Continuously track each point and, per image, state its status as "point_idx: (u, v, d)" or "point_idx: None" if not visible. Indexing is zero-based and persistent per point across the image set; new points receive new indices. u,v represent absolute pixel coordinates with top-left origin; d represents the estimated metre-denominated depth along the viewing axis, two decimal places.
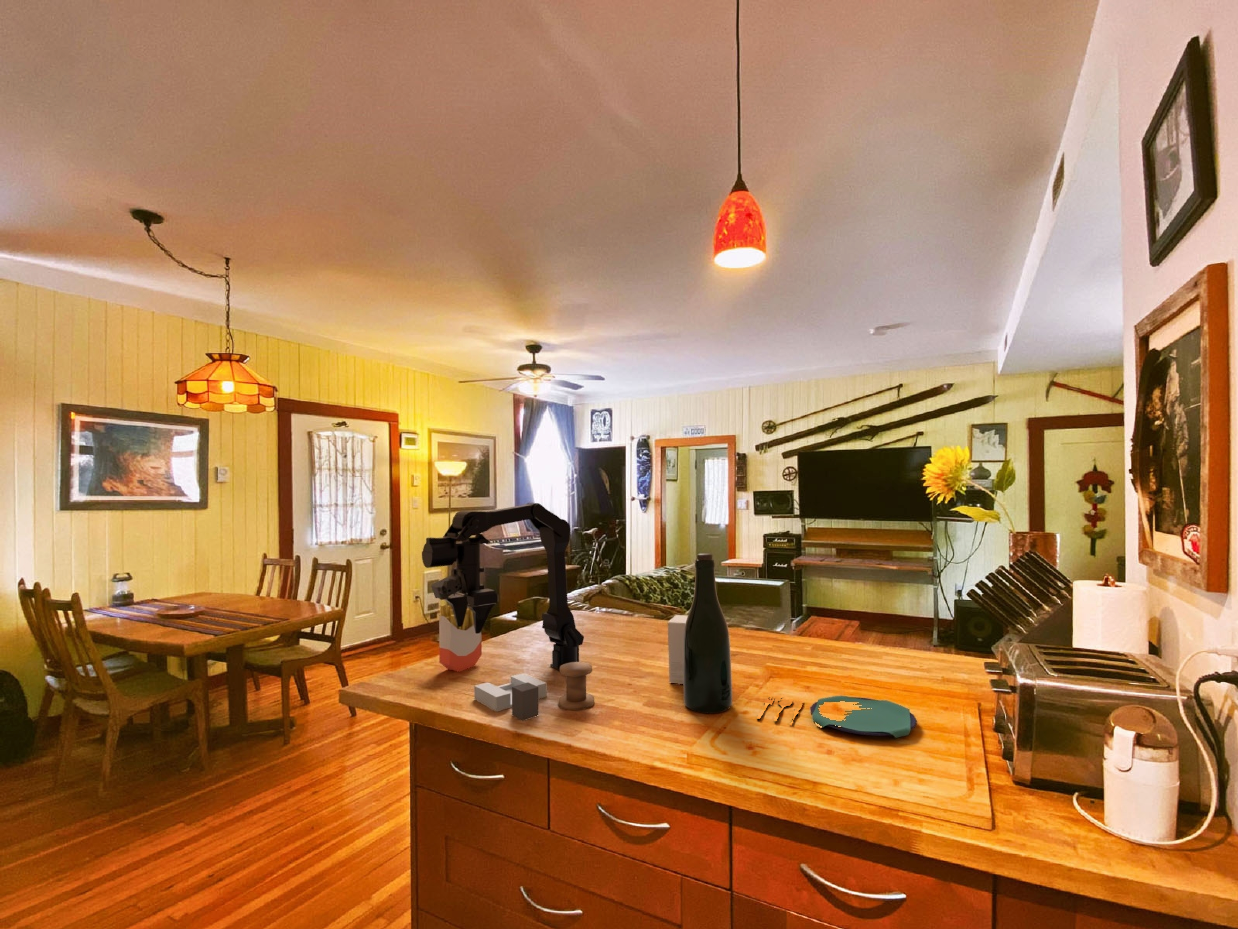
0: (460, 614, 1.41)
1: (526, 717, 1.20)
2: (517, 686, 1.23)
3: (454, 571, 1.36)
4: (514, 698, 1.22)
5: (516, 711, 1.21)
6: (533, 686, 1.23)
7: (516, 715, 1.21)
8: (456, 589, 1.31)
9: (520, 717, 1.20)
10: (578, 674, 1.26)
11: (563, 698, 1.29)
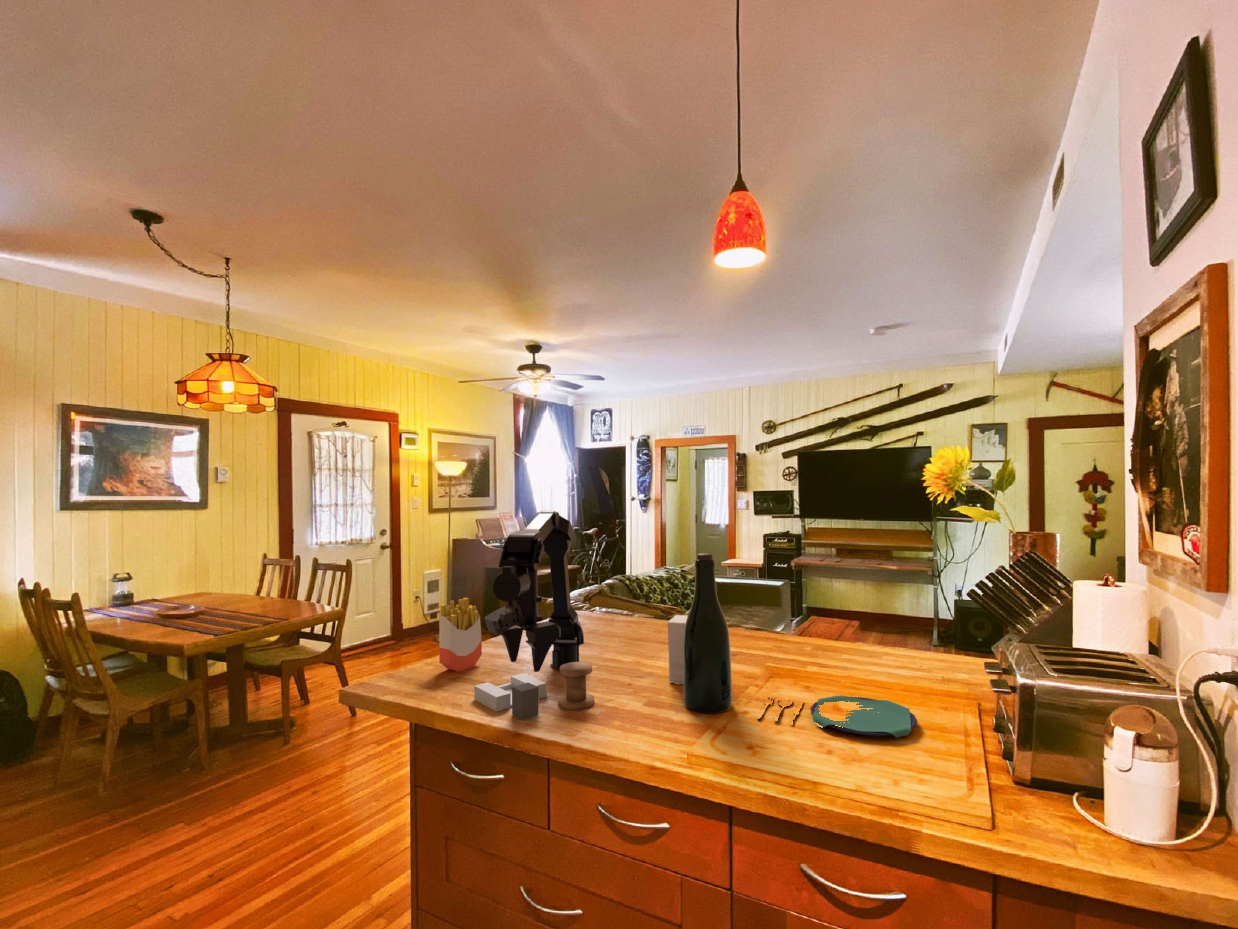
0: (514, 648, 1.26)
1: (526, 717, 1.20)
2: (517, 686, 1.23)
3: (509, 601, 1.22)
4: (514, 698, 1.22)
5: (516, 711, 1.21)
6: (533, 686, 1.23)
7: (516, 715, 1.21)
8: (514, 623, 1.17)
9: (520, 717, 1.20)
10: (578, 674, 1.26)
11: (563, 698, 1.29)
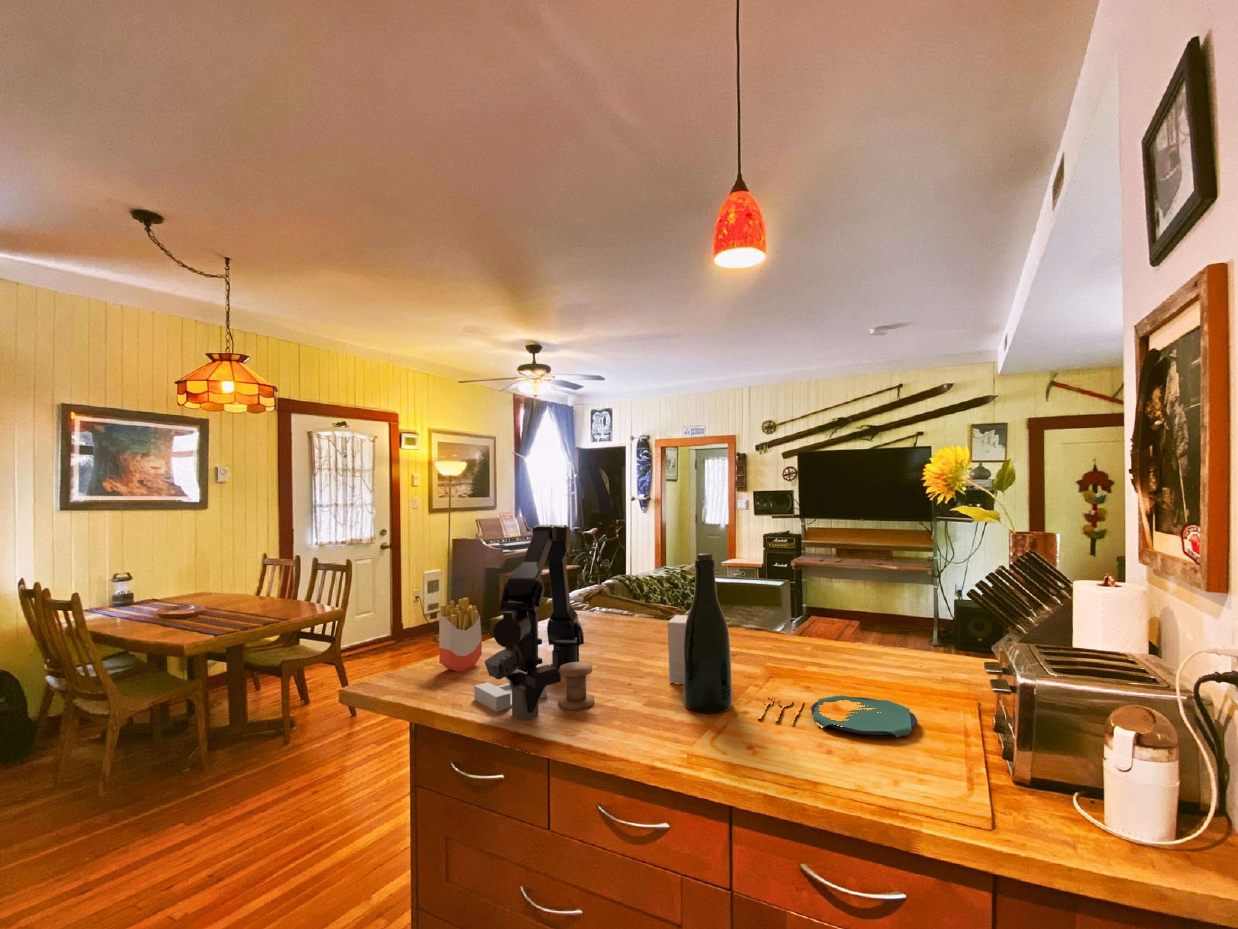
0: None
1: (526, 717, 1.20)
2: (517, 686, 1.23)
3: None
4: (514, 698, 1.22)
5: (516, 711, 1.21)
6: None
7: (516, 715, 1.21)
8: (514, 668, 1.16)
9: (520, 717, 1.20)
10: (578, 674, 1.26)
11: (563, 698, 1.29)
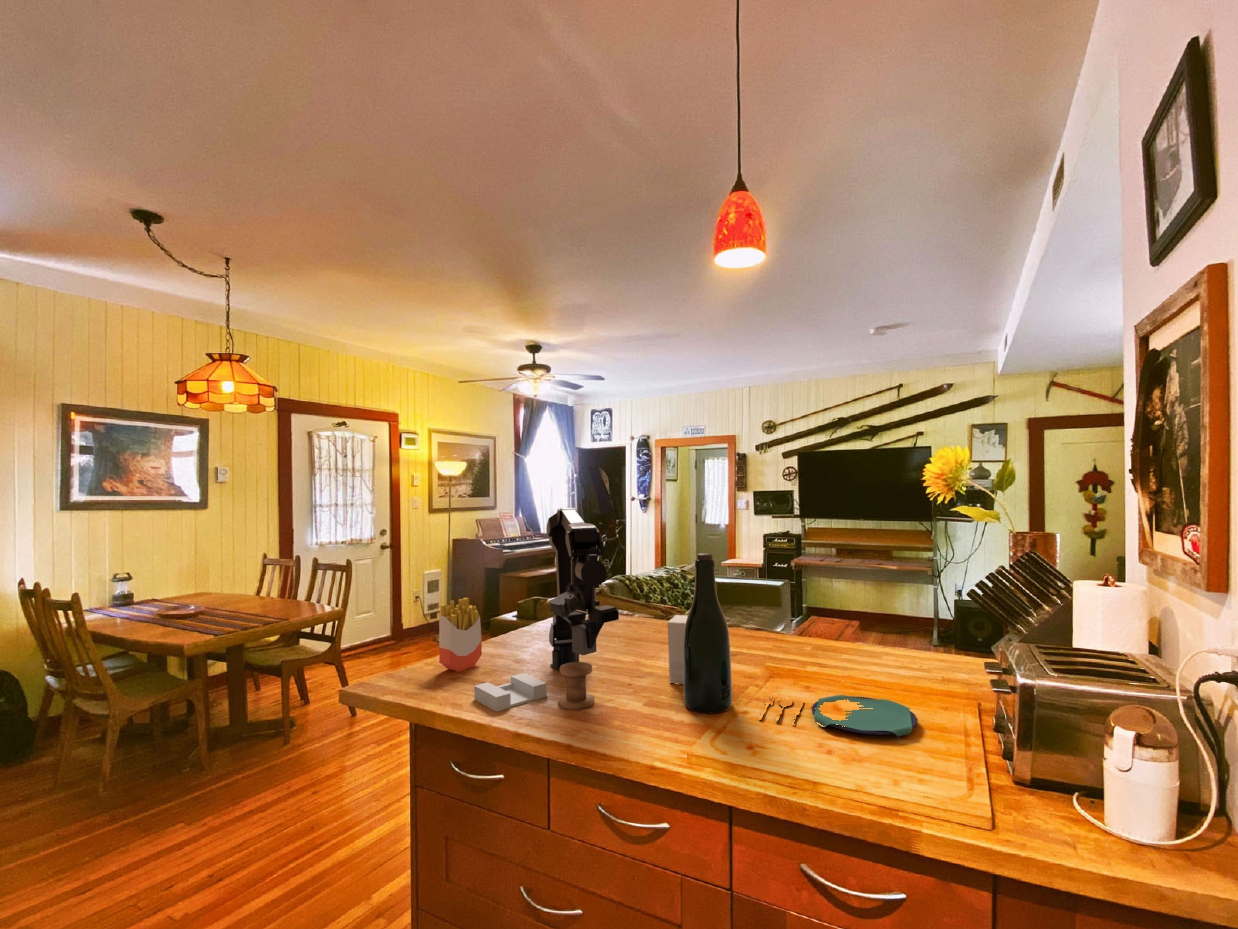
0: None
1: (586, 652, 1.33)
2: (577, 625, 1.35)
3: (570, 587, 1.34)
4: (574, 636, 1.35)
5: (577, 648, 1.34)
6: None
7: (576, 651, 1.34)
8: (577, 606, 1.29)
9: (581, 652, 1.33)
10: (578, 674, 1.26)
11: (563, 698, 1.29)
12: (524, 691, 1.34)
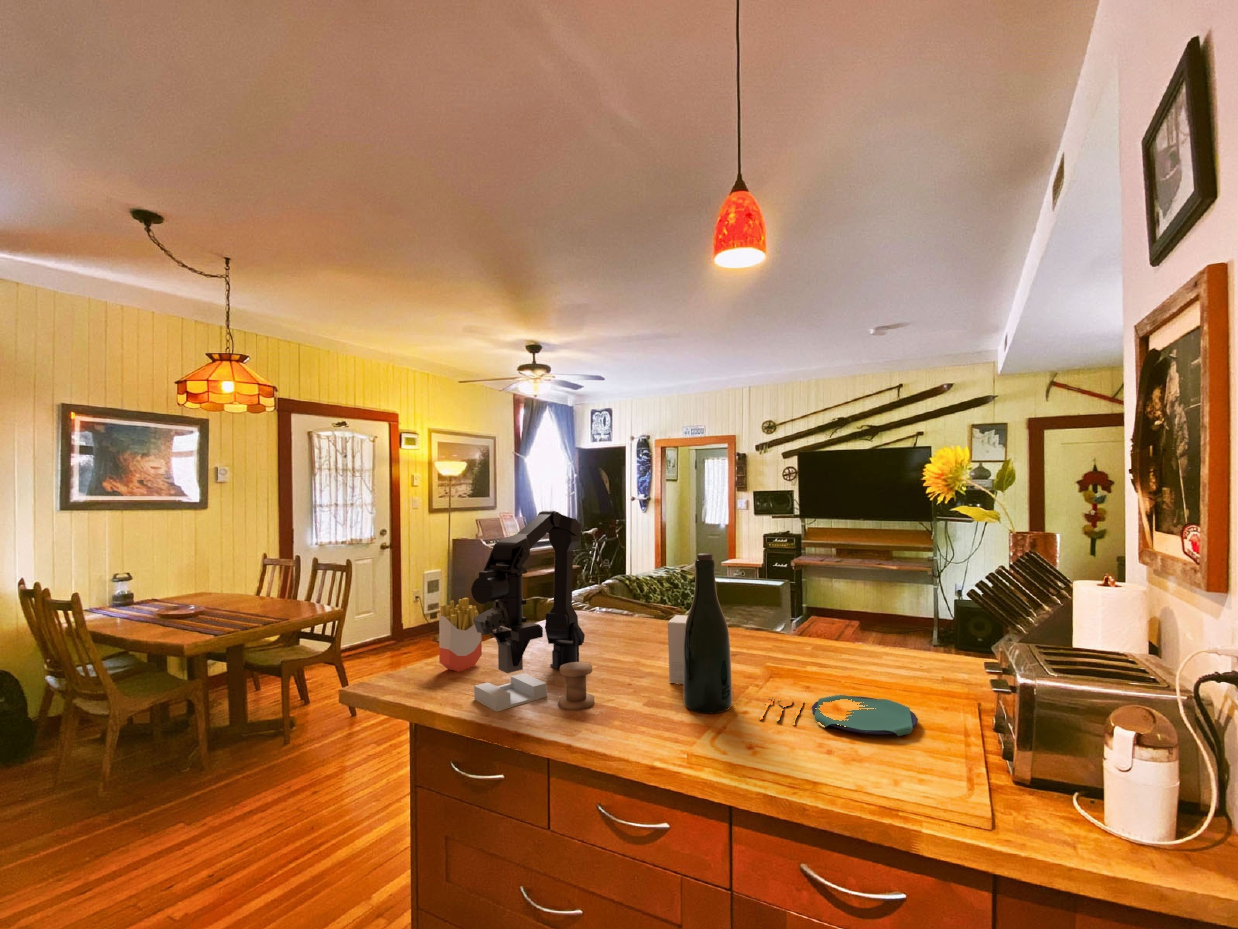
0: None
1: (511, 670, 1.31)
2: (503, 642, 1.33)
3: (496, 604, 1.32)
4: (500, 653, 1.32)
5: (502, 665, 1.32)
6: None
7: (502, 668, 1.32)
8: (500, 624, 1.27)
9: (505, 670, 1.31)
10: (578, 674, 1.26)
11: (563, 698, 1.29)
12: (524, 691, 1.34)
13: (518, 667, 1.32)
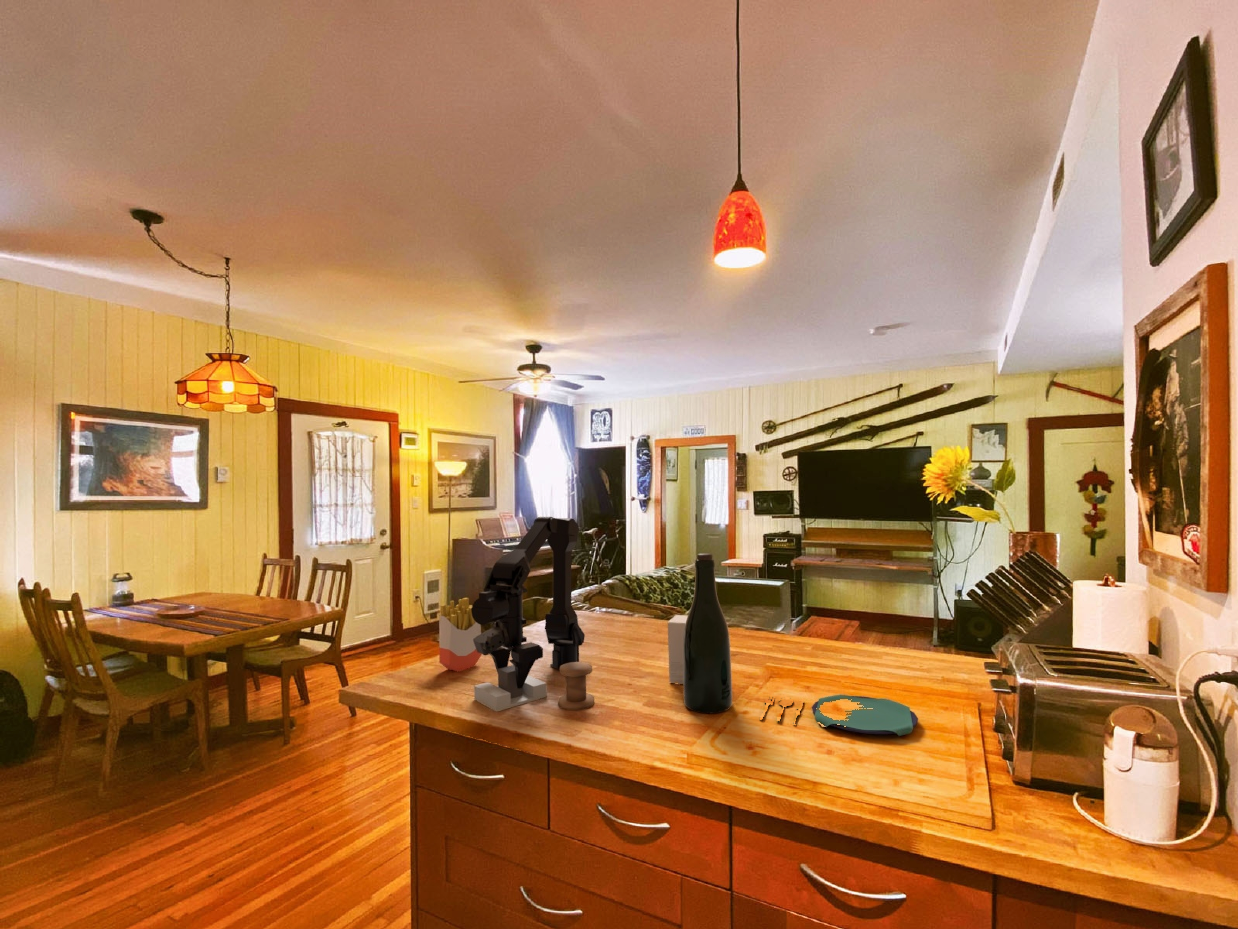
0: (502, 667, 1.36)
1: (511, 696, 1.30)
2: (503, 668, 1.33)
3: (496, 623, 1.32)
4: (500, 679, 1.32)
5: None
6: None
7: None
8: (500, 644, 1.27)
9: None
10: (578, 674, 1.26)
11: (563, 698, 1.29)
12: (524, 691, 1.34)
13: (518, 693, 1.32)
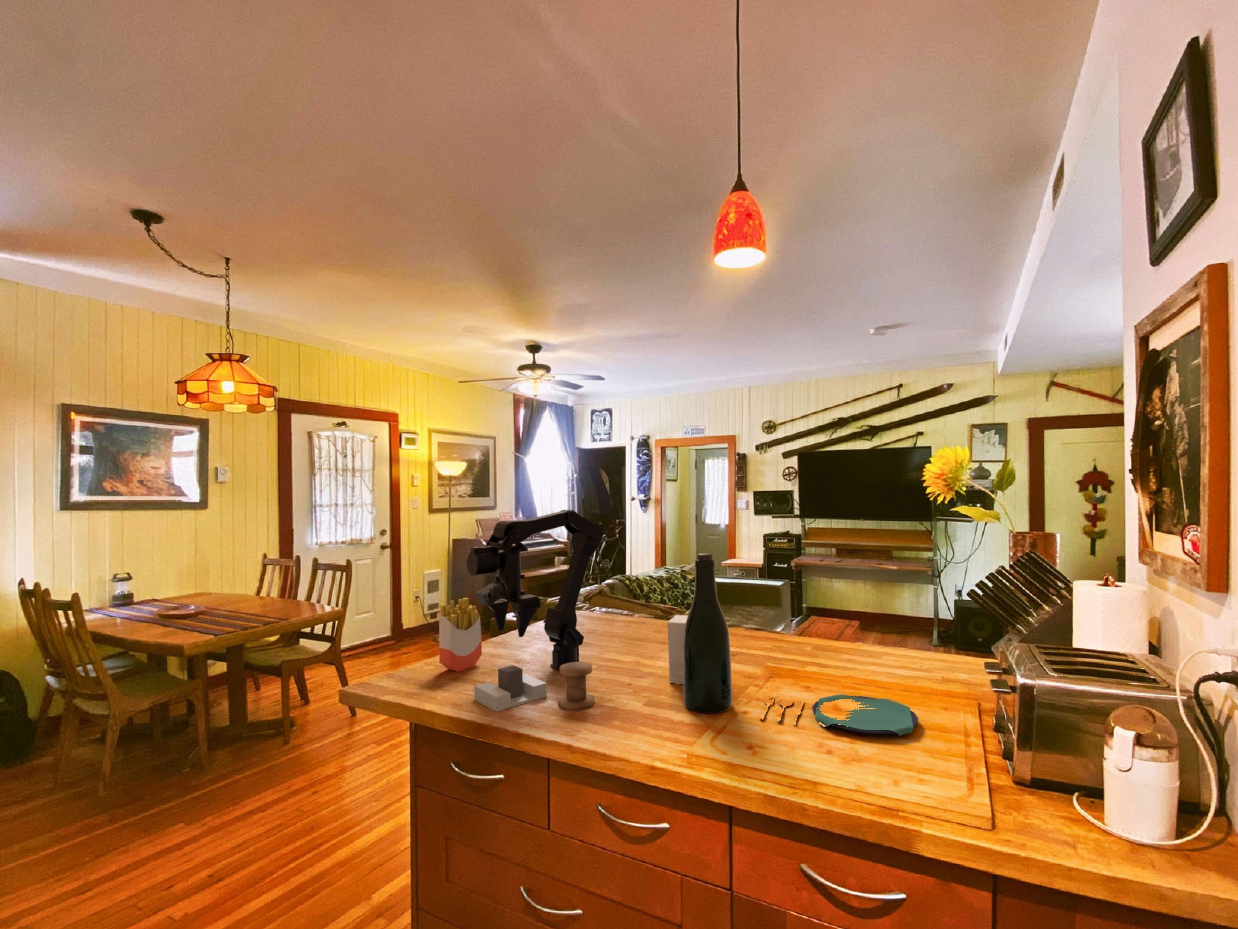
0: (501, 619, 1.48)
1: (511, 696, 1.30)
2: (503, 668, 1.33)
3: (496, 578, 1.44)
4: (500, 679, 1.32)
5: None
6: (518, 668, 1.33)
7: None
8: (501, 596, 1.38)
9: None
10: (578, 674, 1.26)
11: (563, 698, 1.29)
12: (524, 691, 1.34)
13: (518, 693, 1.32)
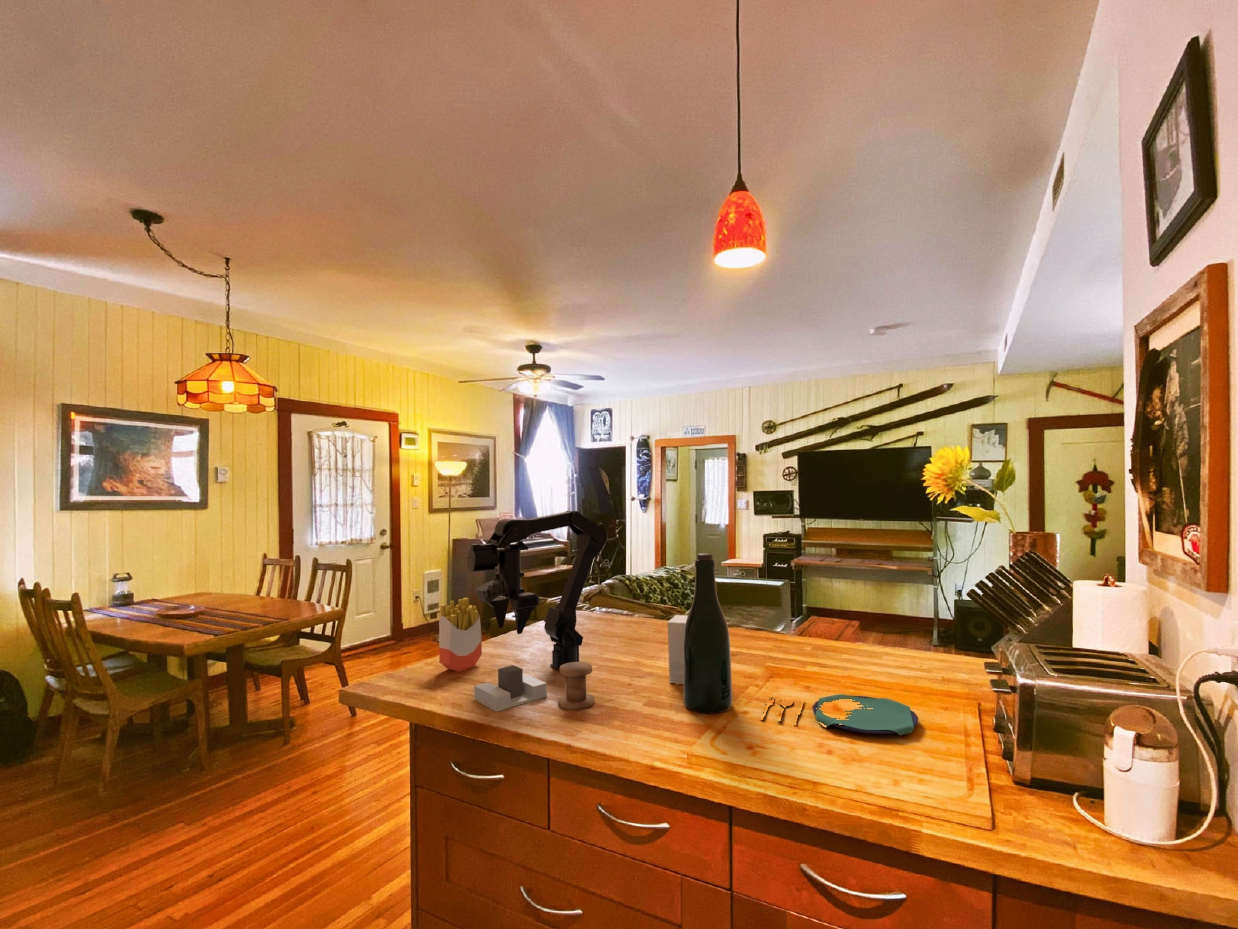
0: (501, 616, 1.50)
1: (511, 696, 1.30)
2: (503, 668, 1.33)
3: (496, 576, 1.46)
4: (500, 679, 1.32)
5: None
6: (518, 668, 1.33)
7: None
8: (500, 593, 1.41)
9: None
10: (578, 674, 1.26)
11: (563, 698, 1.29)
12: (524, 691, 1.34)
13: (518, 693, 1.32)
